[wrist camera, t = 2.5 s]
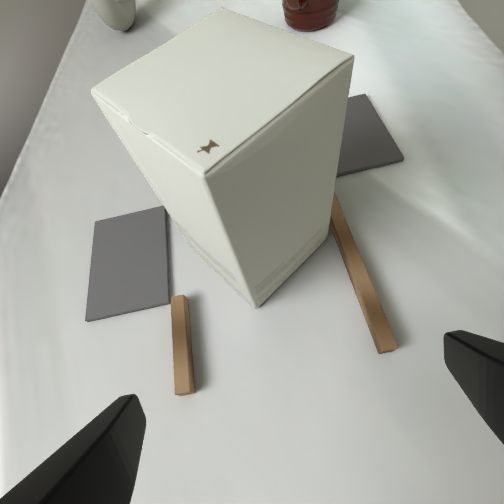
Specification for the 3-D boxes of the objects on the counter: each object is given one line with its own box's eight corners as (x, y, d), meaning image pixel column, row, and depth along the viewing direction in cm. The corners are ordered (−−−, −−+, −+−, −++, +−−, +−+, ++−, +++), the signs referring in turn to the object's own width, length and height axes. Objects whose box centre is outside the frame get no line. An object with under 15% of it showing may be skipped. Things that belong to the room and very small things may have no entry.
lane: (393, 351, 21) (406, 341, 18) (181, 395, 21) (164, 393, 18) (289, 91, 35) (288, 65, 33) (165, 121, 36) (155, 98, 33)
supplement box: (331, 237, 25) (366, 50, 12) (256, 312, 23) (201, 181, 10) (257, 184, 29) (223, 0, 16) (186, 244, 27) (82, 86, 14)
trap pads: (451, 241, 24) (453, 238, 23) (88, 321, 25) (85, 320, 24) (364, 97, 33) (365, 93, 33) (103, 159, 34) (101, 157, 34)
